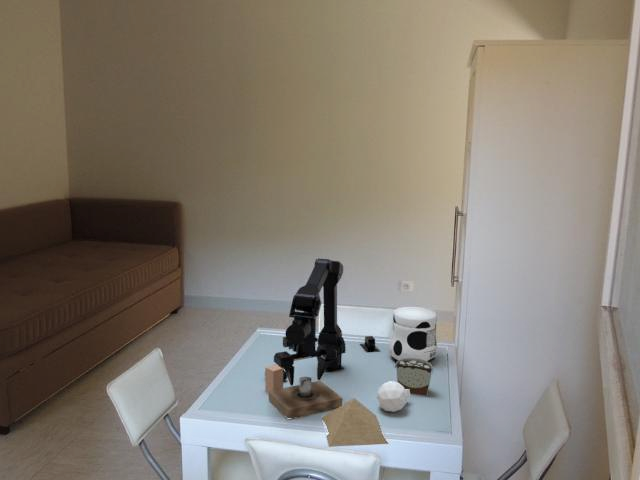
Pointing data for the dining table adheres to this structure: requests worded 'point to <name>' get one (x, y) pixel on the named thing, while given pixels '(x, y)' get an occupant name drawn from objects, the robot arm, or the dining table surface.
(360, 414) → the model pyramid
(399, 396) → the perfume bottle
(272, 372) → the square bar
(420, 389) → the food container
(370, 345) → the black stepped block
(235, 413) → the dining table surface
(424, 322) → the milk container
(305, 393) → the round dowel
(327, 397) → the bore block
